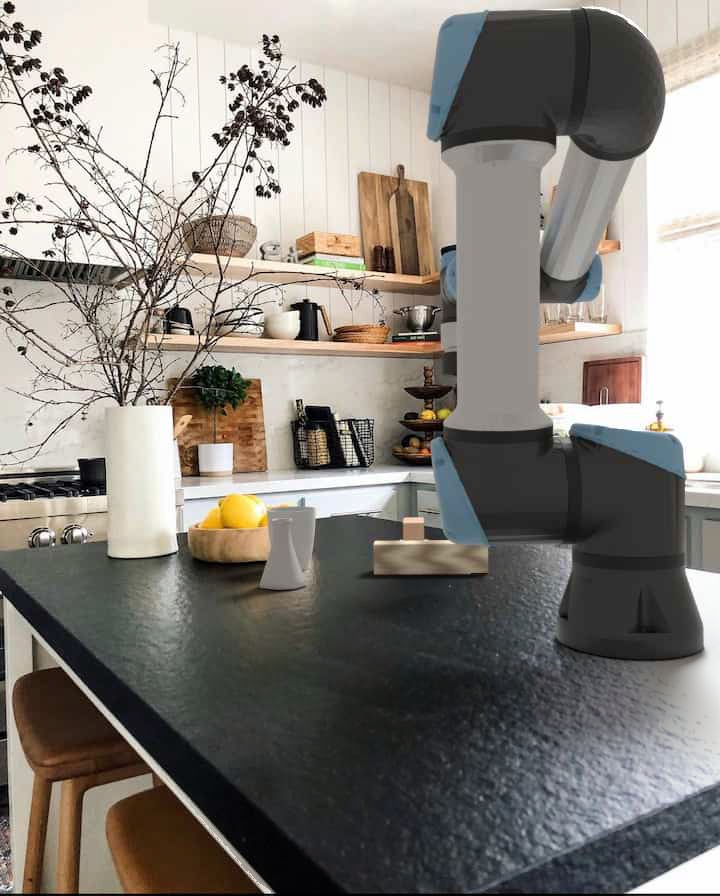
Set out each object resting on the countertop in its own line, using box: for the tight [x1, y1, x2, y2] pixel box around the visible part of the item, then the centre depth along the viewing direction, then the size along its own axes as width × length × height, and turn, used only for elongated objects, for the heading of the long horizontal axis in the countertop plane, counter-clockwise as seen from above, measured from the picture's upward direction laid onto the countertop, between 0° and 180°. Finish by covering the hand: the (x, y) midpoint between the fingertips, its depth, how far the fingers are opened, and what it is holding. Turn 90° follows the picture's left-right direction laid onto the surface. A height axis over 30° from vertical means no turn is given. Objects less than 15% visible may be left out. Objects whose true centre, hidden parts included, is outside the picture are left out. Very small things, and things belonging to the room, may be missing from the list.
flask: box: [259, 518, 307, 591], centre depth 122 cm, size 7×7×10 cm
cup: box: [266, 506, 317, 572], centre depth 136 cm, size 8×8×10 cm
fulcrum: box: [399, 516, 428, 541], centre depth 142 cm, size 8×5×7 cm, turn 176°
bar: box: [373, 539, 489, 575], centre depth 131 cm, size 18×4×5 cm, turn 86°
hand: (467, 484), depth 131 cm, fingers open, 13 cm apart
